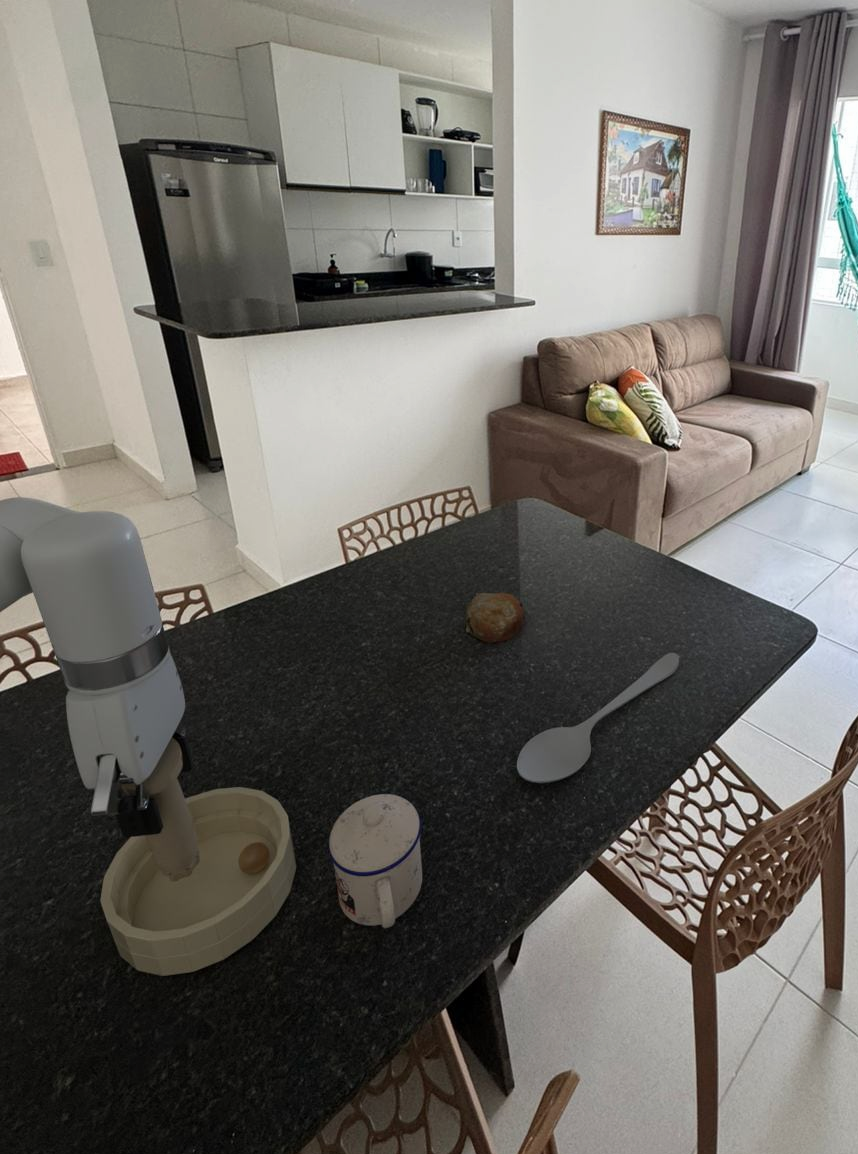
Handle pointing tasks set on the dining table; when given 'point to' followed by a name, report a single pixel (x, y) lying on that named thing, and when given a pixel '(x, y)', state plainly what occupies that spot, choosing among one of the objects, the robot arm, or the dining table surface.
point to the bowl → (201, 886)
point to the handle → (171, 817)
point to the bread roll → (494, 617)
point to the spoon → (580, 733)
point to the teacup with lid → (377, 859)
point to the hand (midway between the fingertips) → (160, 798)
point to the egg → (254, 858)
